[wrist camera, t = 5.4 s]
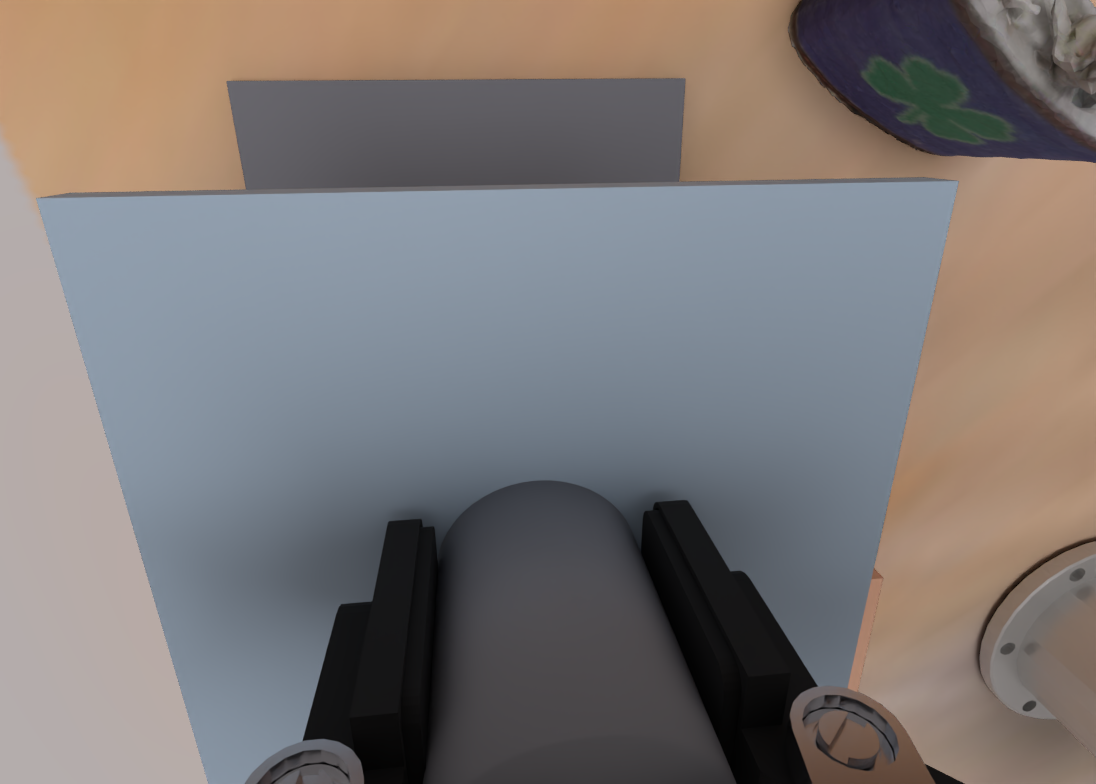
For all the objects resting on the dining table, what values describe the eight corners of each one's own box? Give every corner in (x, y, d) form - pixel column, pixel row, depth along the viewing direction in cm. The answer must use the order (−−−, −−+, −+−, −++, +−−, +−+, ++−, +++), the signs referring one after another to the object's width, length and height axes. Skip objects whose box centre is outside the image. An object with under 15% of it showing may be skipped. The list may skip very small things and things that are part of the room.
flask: (983, 111, 26) (1297, 103, 16) (934, 177, 27) (1205, 207, 17) (816, -33, 23) (1071, -148, 14) (767, 44, 24) (974, -11, 14)
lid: (924, 177, 11) (1393, 225, 5) (810, 750, 15) (991, 1077, 10) (70, 192, 9) (-478, 280, 4) (241, 816, 14) (104, 1234, 9)
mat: (680, 79, 24) (685, 78, 24) (658, 458, 30) (661, 465, 30) (232, 82, 22) (226, 81, 22) (304, 484, 29) (301, 491, 28)
